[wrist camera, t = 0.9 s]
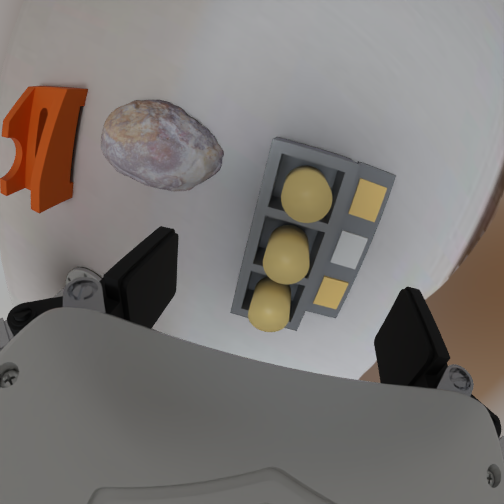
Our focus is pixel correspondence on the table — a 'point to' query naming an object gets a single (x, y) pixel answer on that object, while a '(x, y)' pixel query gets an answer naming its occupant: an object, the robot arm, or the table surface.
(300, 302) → the grey compartment tray
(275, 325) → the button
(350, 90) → the table surface
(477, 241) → the table surface
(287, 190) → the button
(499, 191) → the table surface
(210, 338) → the table surface
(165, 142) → the stone
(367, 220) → the strip
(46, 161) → the tape dispenser
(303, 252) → the button mid
